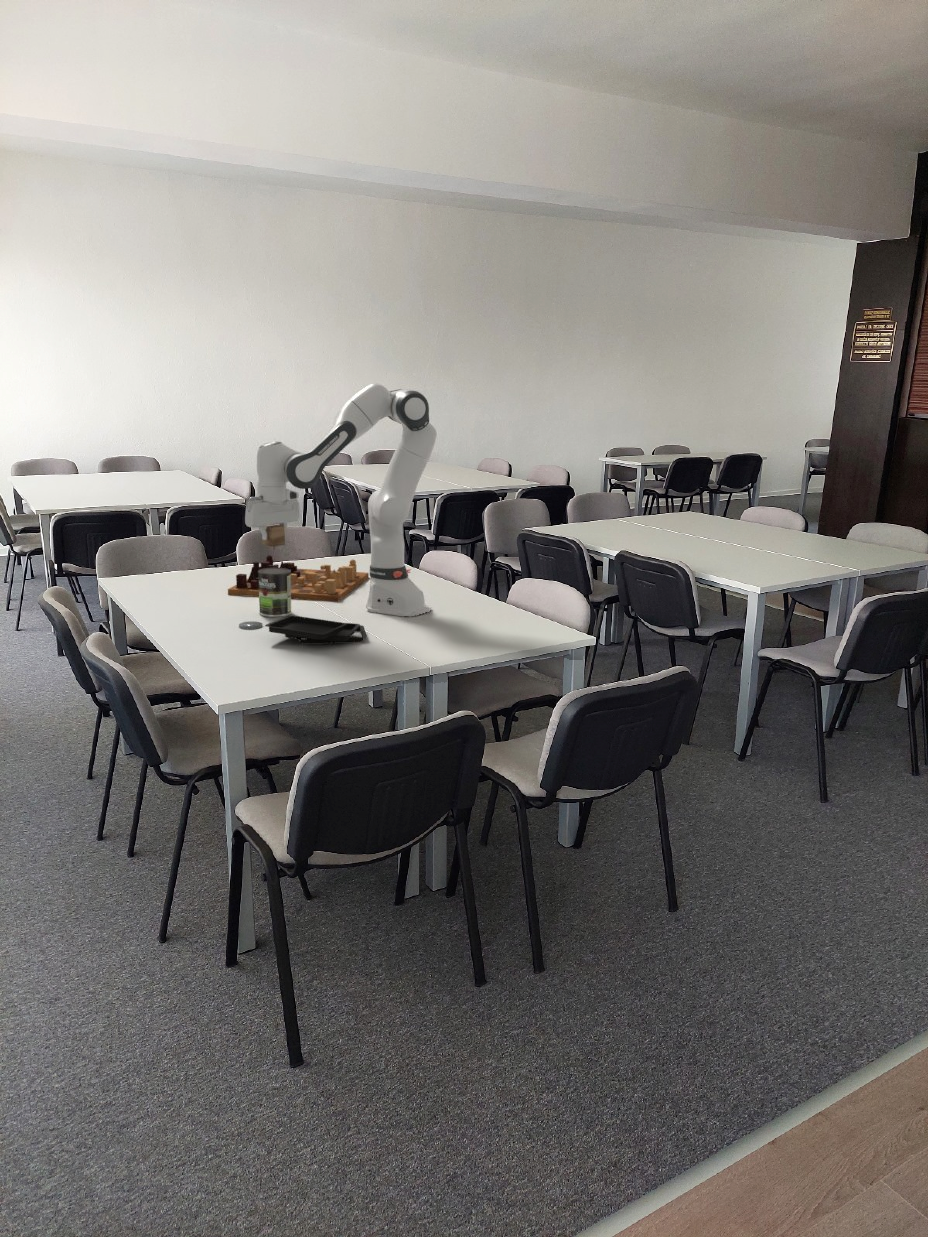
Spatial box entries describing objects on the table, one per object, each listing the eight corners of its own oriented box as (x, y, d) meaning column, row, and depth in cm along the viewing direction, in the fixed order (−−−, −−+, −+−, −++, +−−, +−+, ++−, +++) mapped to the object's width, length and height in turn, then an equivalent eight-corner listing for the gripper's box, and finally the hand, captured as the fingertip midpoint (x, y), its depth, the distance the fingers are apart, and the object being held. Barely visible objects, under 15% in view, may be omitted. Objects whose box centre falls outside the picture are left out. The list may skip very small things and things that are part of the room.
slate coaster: (267, 627, 274) (267, 624, 274) (249, 631, 269) (249, 628, 269) (251, 623, 278) (251, 620, 278) (234, 627, 273) (233, 624, 272)
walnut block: (284, 544, 284) (284, 526, 283) (273, 546, 280) (272, 527, 279) (273, 542, 287) (273, 524, 286) (262, 544, 283) (261, 526, 282)
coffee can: (278, 618, 283) (276, 575, 279) (252, 614, 287) (251, 571, 284) (298, 612, 292) (297, 569, 288) (273, 607, 296) (272, 566, 293)
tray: (358, 626, 277) (358, 610, 276) (379, 647, 256) (379, 629, 255) (260, 634, 266) (259, 617, 265) (274, 656, 245) (273, 638, 244)
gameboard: (338, 603, 307) (338, 577, 305) (228, 596, 313) (226, 570, 310) (368, 579, 345) (368, 555, 343) (269, 573, 351) (268, 550, 349)
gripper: (253, 498, 270) (255, 543, 273) (302, 492, 286) (303, 535, 289) (239, 496, 273) (241, 541, 277) (288, 491, 289) (289, 533, 293)
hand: (273, 538), depth 283 cm, fingers closed on walnut block, 5 cm apart
